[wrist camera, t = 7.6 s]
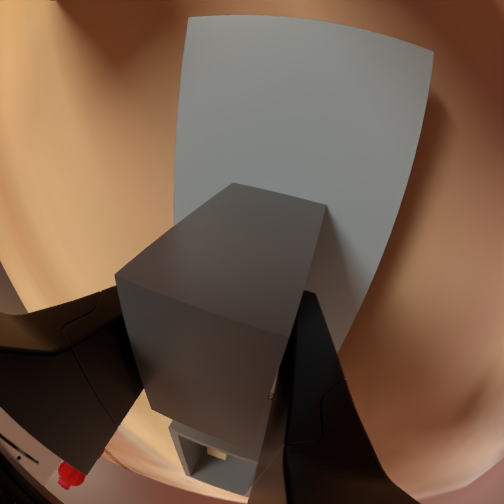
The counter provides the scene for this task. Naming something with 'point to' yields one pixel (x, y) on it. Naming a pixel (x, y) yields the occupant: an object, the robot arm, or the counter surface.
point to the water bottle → (70, 475)
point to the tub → (219, 456)
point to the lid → (269, 206)
